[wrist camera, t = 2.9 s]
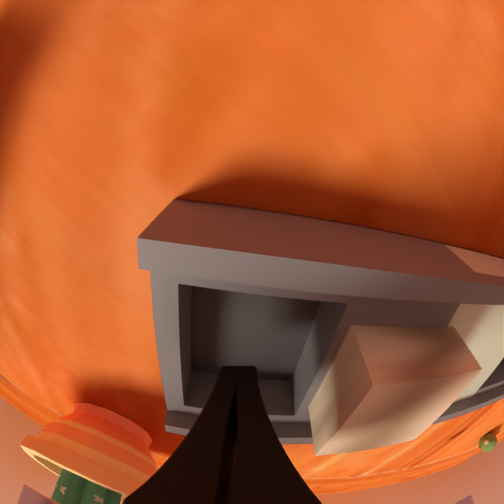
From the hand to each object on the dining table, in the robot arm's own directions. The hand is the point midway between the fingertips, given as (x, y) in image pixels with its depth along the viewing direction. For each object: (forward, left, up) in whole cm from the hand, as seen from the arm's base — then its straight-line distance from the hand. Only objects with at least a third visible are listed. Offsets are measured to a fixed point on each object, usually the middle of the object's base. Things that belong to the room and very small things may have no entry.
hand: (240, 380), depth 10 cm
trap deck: (-12, 0, -4) cm, 13 cm away
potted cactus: (+12, +18, -4) cm, 22 cm away
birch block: (-7, 0, -1) cm, 7 cm away
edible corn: (-65, +39, -4) cm, 76 cm away
